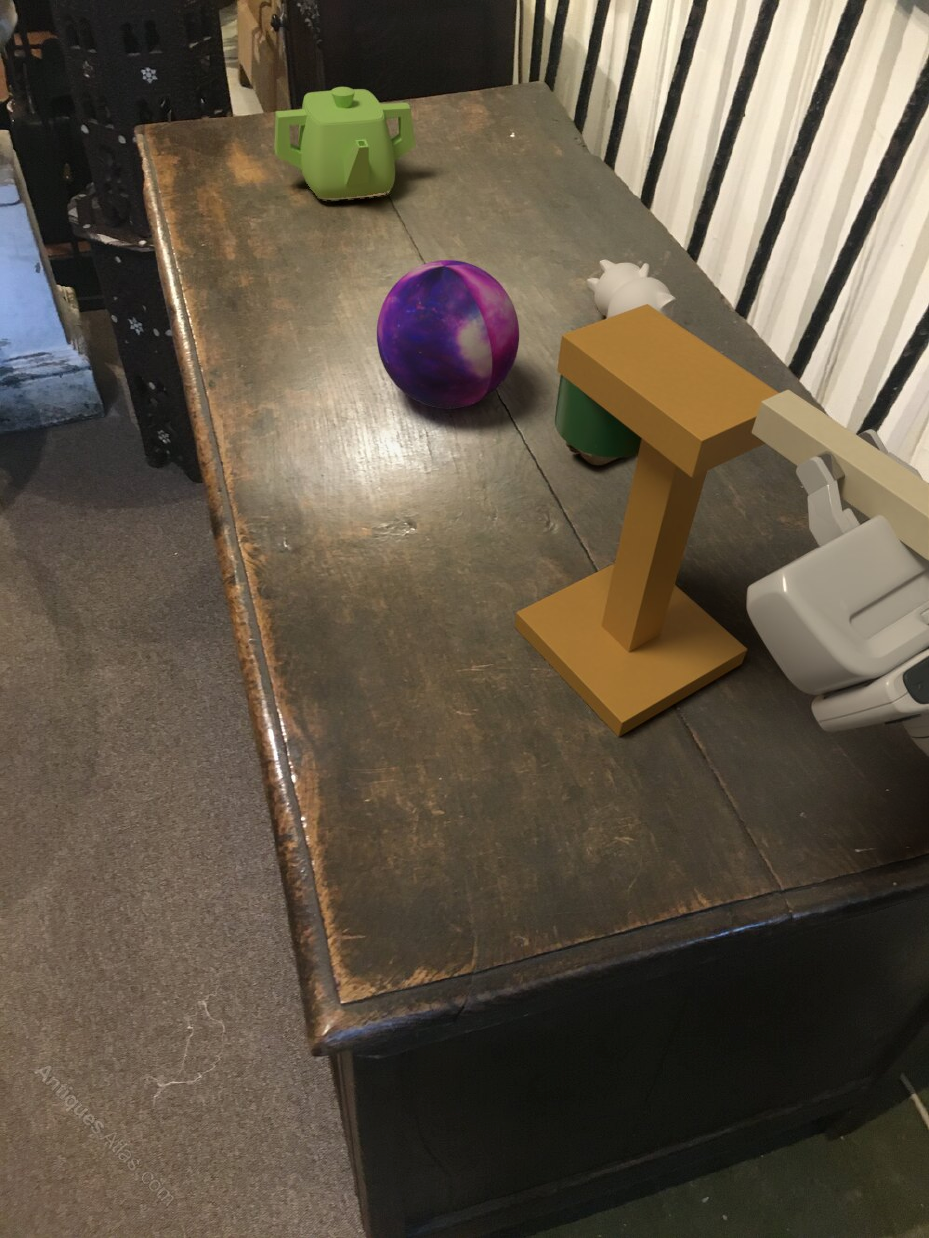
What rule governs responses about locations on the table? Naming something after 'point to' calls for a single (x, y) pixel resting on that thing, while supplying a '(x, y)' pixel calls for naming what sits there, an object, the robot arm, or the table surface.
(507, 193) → the table surface
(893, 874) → the table surface
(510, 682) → the table surface
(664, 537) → the desk lamp
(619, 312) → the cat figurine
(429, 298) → the decorative orb
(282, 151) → the teapot
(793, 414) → the switch rod
